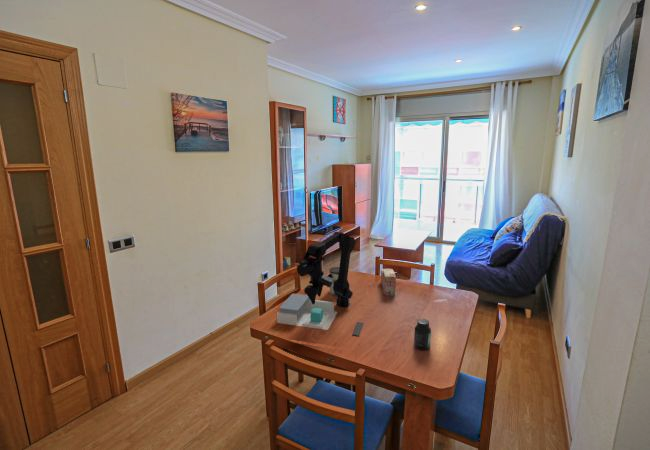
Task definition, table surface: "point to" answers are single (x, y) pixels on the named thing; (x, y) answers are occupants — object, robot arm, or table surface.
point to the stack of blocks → (388, 281)
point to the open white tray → (305, 317)
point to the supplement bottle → (422, 335)
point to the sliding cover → (294, 303)
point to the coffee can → (334, 276)
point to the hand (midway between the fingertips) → (316, 300)
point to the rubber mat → (358, 329)
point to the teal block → (316, 315)
